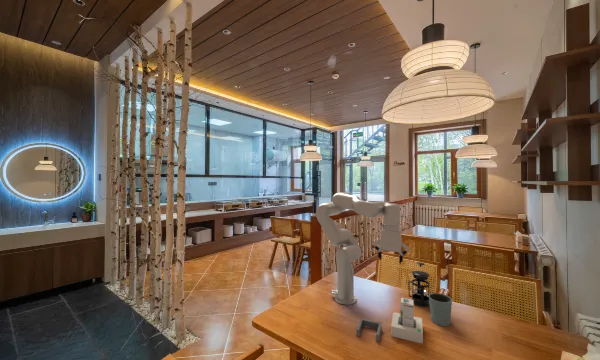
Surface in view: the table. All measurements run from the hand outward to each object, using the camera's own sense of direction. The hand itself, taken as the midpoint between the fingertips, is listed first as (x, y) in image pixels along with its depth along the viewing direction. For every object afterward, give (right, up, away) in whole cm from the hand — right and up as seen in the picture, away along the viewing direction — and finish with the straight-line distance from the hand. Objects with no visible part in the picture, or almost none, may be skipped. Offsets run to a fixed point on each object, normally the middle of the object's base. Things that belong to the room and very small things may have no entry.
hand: (390, 261), depth 126 cm
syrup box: (+4, -30, -10) cm, 32 cm away
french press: (+23, -30, +17) cm, 41 cm away
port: (+4, -30, -10) cm, 32 cm away
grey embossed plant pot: (+25, -30, -2) cm, 39 cm away
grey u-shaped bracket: (-14, -30, -10) cm, 35 cm away
